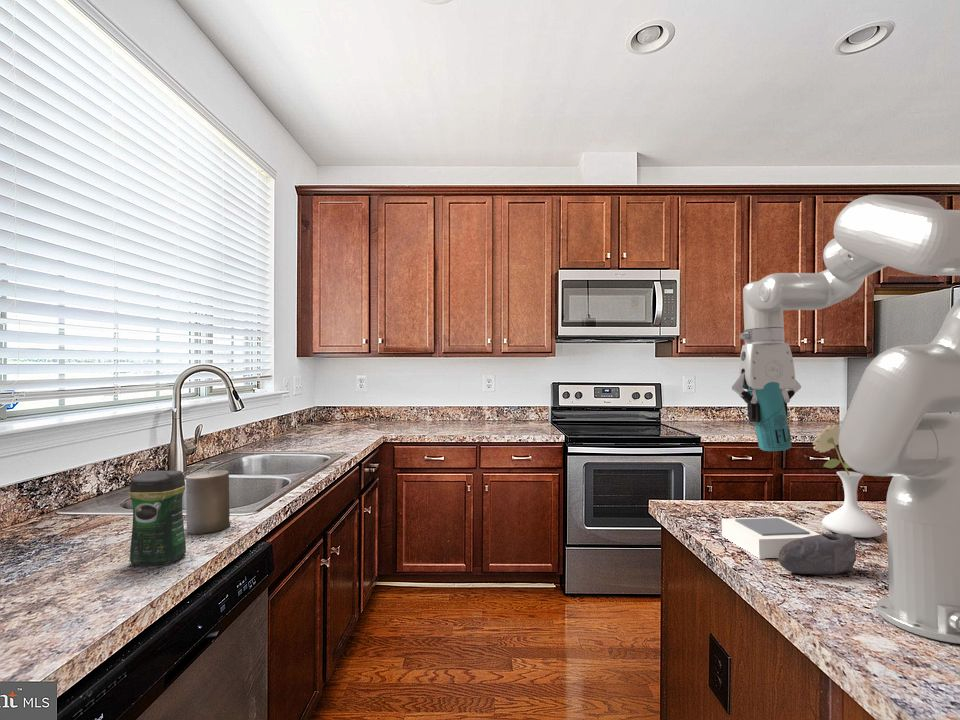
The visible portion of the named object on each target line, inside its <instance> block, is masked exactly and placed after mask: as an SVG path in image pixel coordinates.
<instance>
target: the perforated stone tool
mask: <svg viewBox="0 0 960 720" xmlns="http://www.w3.org/2000/svg"><path fill="white" fill-rule="evenodd" d="M856 561H857V554H856V537H852V536H851V535H850V534H838V533H828V534H826V533H822V534H821V535H814V536H808V537H804V538H800V539H796V540H793V541H791V542H789V543H787V544H785V545H784V546H783V547H782V548H781V550H780V552H779V557H778V562H779V564H780V566H781V567H782V568H783V569H785V570H786V571H788V572H790V573H794V574H800V575H809V574H811V575H815V576H816V575H817V576H818V575H820V576H822V575H826V576H827V575H830V576H831V575H836V574H840V573H851V572H853V571H854V565H855V563H856Z"/></svg>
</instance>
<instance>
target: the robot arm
mask: <svg viewBox="0 0 960 720" xmlns="http://www.w3.org/2000/svg"><path fill="white" fill-rule="evenodd" d="M833 237H834V238H832V239H830V241H828V242H827V244H826V245H825V247H823V248H824V249H823V251H822V253H823V254H822V257H823V262H824V265H825V267H826V269H825V270H823V271H819V272H817V273H816V272H776V273H771V274H768V275H766V276H764V277H762V278H761V279H760V280H756V281H751V282H748V283H746V284H745V286H744V287H743V288H742V304H743V324H744V325H743V326H744V329H743V332H741V333H739V336H738V337H739V339H740V340H744V341H743V342H744V344H742V347H741V351H740V356H739V357H740V358H739V374H738V375H739V377H737V379H736V381H735V382H734V383H733V384H732V386H731V390H732V391H733V392H735V393H736V394H737V395H739V397H740V398H741V399H742V400H744V403H745V404H746V405H747V418H748V421H749V422H751V423H755V422H760V421H761V419H760V405H759V404H756V403H757V400H758V399H757V395H756V390H762V389H764V386H765V385H766V384H767V383H769V382H777V383H779V388H780V389H781V390H782V396H784V397H783V400H784V401H785V402H784V406H785V411H786V417H787V418H788V416H789V415H788V414H789V413H788V403H790V402H791V399H792V398H793V397H794V396H795V395H796V393H797V392H798V391H799V390H801V388H802V385H801V384H800V383H799V382H798V380H796V373H795V371H796V370H795V364H794V358H793V354H792V350H791V347H790V344H789V342H788V343H787V342H786V343H785V340H786V339H785V327H784V326H785V323H784V311H815V310H816V311H817V310H822V309H826V308H829V307H831V306H833V305H836V304H837V303H840V302H842V301H844V300H846V299H848V298H851V297H852V296H853V295H855V294H856V293H857V291H859V289H860V288H861V286H863V284H864V282H865V278H867V277H868V276H871V275H872V274H874V273H877V272H878V271H880V270H883V269H885V268H887V267H890V268H893V269H895V270H899V271H902V272H906V273H909V274H912V275H913V274H915V275H920V276H941V277H943V276H944V277H945V276H949V277H951V276H953V277H954V276H957V277H958V276H959V277H960V209H945V208H944V207H943V206H942V205H941V204H940V203H939V202H937V201H936V200H935V199H931V198H929V197H925V196H919V195H906V194H905V195H904V194H903V195H901V194H868V195H864V196H861V197H859V198H857V199H854V200H852V201H851V202H849V203H848V204H847V205H846V206H845V207H843V209H842V210H841V211H840V212H839V214H838V215H837V217H836V218H835V221H834V225H833ZM748 387H751V388H752V389H753V390H750V389H749V388H748ZM750 391H753V392H752V396H751V395H750ZM849 403H850V404H849V406H848V409H847V410H846V413H845V415H844V417H843V420H842V423H841V424H840V427H839V429H840V431H839V438H838V451H839V454H840V457H841V459H843V461H844V462H846V463H847V465H849V466H850V467H851V468H850V469H852V470H853V471H854V472H857V473H862V474H864V475H867V476H871V477H892V478H891V481H890V483H889V486H888V488H887V489H888V490H887V492H886V493H887V494H886V502H885V504H886V505H885V508H886V509H885V511H886V539H887V540H886V541H887V542H886V543H887V570H888V571H887V572H888V596H885V597H882V598H879V599H878V600H877V601H876V612H877V613H878V615H879V616H881V617H882V618H883V619H884V620H885V621H887V622H889V623H890V624H891V625H894V626H895V627H897V628H900V629H902V630H904V631H907V632H909V633H912V634H915V635H918V636H921V637H923V638H928V639H932V640H936V641H940V642H946V643H949V644H950V643H952V644H959V645H960V417H959V416H957V415H955V414H953V413H960V298H959V299H958V300H957V301H956V302H955V303H954V304H953V305H952V306H951V308H950V310H949V311H948V312H947V314H946V316H945V319H944V321H943V323H942V326H940V328H939V330H938V332H937V334H936V335H935V337H934V338H933V340H932V341H930V342H929V343H926V344H906V345H905V344H904V345H899V346H893V347H890V348H888V349H887V350H884V351H882V352H881V353H879V354H877V356H875V358H873V359H872V360H871V362H870V363H868V364H867V366H866V368H865V369H864V372H863V373H862V376H861V379H860V380H859V382H858V385H857V387H856V390H855V392H854V394H853V396H852V399H851V402H849Z"/></svg>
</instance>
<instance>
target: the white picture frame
mask: <svg viewBox="0 0 960 720" xmlns="http://www.w3.org/2000/svg"><path fill="white" fill-rule="evenodd" d="M814 535H821V534H820V533H818V532H816V531H813V530H812V529H809V528H807V527H804V526H802V525H800V524H798V523H796V522H793V521H791V520H790V519H787V518H785V517H782V516H767V517H766V516H765V517H763V516H762V517H737V518H735V517H733V518H729V517H728V518H721V537H723V538H725V539H726V540H727V539H728V541H729V542H730V543H732V542H733V543H732V544H734V545H735V544H736V546H737V547H739V548H740V547H741V548H740V549H742V548H743V549H745V550H746V552H747V551H748V552H750V553H751V554H750V553H749V554H750V555H752V554H753V555H754V556H753V555H752V556H753V557H755V556H756V557H758V558H759V559H758V558H757V559H758V560H766V559H765V558H778V557H779V552H780V550H781V548H782V547H783V546H784V545H785V544H787V543H789V542H791V541H793V540H796V539H800V538H804V537H808V536H814ZM743 549H742V550H743ZM745 550H744V551H745ZM748 552H747V553H748ZM756 557H755V558H756Z"/></svg>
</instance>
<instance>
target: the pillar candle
mask: <svg viewBox="0 0 960 720" xmlns="http://www.w3.org/2000/svg"><path fill="white" fill-rule="evenodd" d="M185 491H186V492H185V493H186V494H185V496H186V497H185V501H186V507H185V508H186V511H185V514H186V533H188V534H191V535H203V534H210V533H211V534H212V533H214V532H220V531H223V530H225V529H226V530H227V528H229V527H230V526H231V523H230V518H231V517H230V515H231V514H230V513H231V512H230V473H229V471H228V470H223V469H222V470H221V469H217V470H210V469H209V468H207V470H206V471H200V472H194V473H191V474H188V475H186V476H185Z"/></svg>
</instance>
